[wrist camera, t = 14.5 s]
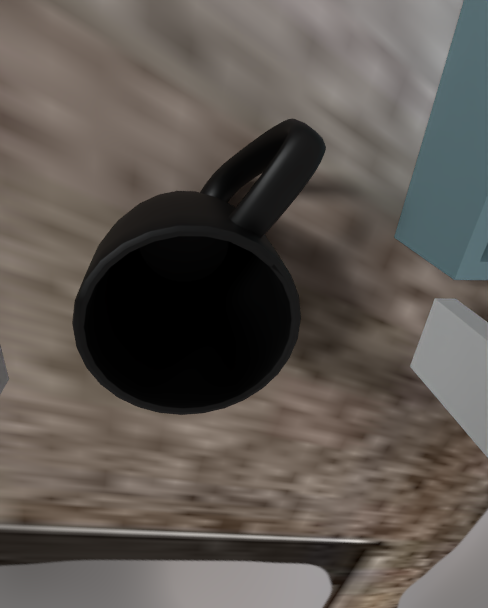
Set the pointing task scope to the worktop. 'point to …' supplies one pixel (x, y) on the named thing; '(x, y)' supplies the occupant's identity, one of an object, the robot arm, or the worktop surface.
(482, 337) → the robot arm
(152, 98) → the worktop surface
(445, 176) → the tote
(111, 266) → the mug
